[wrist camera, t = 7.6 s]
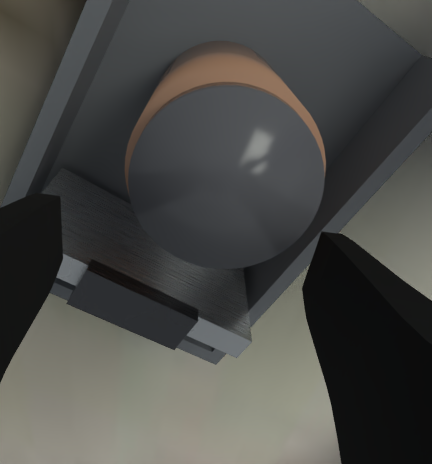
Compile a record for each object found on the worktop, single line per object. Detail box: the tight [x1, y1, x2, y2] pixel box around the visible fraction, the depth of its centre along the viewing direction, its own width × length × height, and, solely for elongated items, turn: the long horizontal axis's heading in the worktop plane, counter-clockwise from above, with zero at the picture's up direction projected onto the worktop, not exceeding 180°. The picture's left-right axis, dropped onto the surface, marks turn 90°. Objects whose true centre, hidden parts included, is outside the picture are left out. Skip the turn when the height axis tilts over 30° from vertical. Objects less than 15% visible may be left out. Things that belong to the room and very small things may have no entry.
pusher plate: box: [42, 168, 252, 358], centre depth 16 cm, size 9×2×6 cm, turn 57°
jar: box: [125, 41, 326, 269], centre depth 13 cm, size 5×5×7 cm
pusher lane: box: [0, 0, 432, 364], centre depth 16 cm, size 11×15×4 cm
